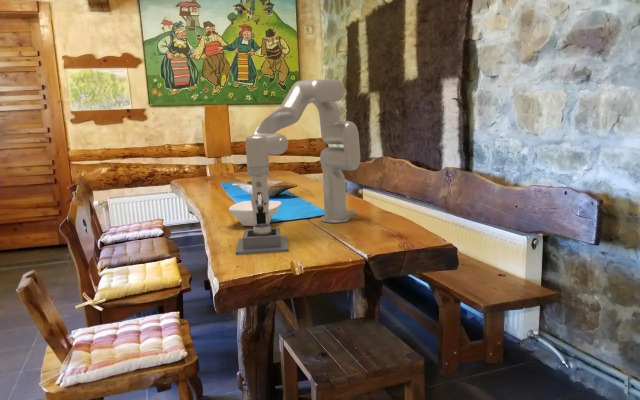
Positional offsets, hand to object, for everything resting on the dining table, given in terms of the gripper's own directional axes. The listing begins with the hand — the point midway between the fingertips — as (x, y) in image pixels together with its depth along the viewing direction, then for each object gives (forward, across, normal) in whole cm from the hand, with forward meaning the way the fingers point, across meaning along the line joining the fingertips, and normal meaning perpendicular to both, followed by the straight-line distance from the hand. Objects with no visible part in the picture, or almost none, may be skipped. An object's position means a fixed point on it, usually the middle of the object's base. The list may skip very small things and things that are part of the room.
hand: (261, 221), depth 170 cm
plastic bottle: (+7, 0, 0) cm, 7 cm away
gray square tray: (+9, 0, 0) cm, 9 cm away
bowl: (+10, +34, +3) cm, 35 cm away
